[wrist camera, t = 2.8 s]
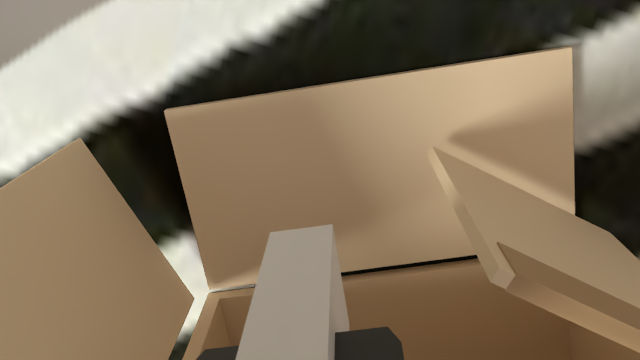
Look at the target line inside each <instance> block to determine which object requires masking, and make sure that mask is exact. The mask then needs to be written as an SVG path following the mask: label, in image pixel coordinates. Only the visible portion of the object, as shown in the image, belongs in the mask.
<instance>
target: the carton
mask: <svg viewBox="0 0 640 360" xmlns="http://www.w3.org/2000/svg"><path fill="white" fill-rule="evenodd" d="M164 114H165V118H166V122H167V126H168V130H169V134H170V138H171V141H172V145H173V149H174V153H175V157H176V161H177V165H178V169H179V173H180V177H181V181H182V185H183V189H184V193H185V197H186V200H187V204H188V208H189V212H190V216H191V220H192V224H193V228H194V232H195V236H196V240H197V244H198V248H199V252H200V256H201V260H202V263H203V267H204V271H205V275H206V279H207V283H208V287H209V290H210V289H218V288H226V287H233V286H241V285H249V284H256V282H257V279H258V275H259V271H260V268H261V264H262V260H263V257H264V253H265V250H266V246H267V242H268V239H269V235H270V232H277V231H285V230H292V229H300V228H308V227H315V226H323V225H330V224H333V229H334V235H335V241H336V247H337V253H338V259H339V265H340V271H341V272H348V271H356V270H363V269H371V268H379V267H386V266H394V265H402V264H409V263H417V262H425V261H432V260H440V259H448V258H455V257H463V256H470V255H476V253H475V251H474V249H473V247H472V245H471V243H470V241H469V239H468V237H467V235H466V233H465V231H464V229H463V227H462V225H461V223H460V221H459V219H458V217H457V215H456V213H455V211H454V209H453V207H452V205H451V203H450V201H449V199H448V197H447V195H446V193H445V191H444V189H443V187H442V185H441V183H440V181H439V179H438V177H437V175H436V173H435V171H434V169H433V167H432V165H431V163H430V161H429V159H428V157H427V155H426V154H427V153H428V151H429V149H430V148H431V146H433V147H435V148H437V149H439V150H441V151H443V152H445V153H447V154H449V155H452V156H454V157H456V158H458V159H460V160H462V161H464V162H466V163H468V164H470V165H472V166H474V167H476V168H478V169H480V170H482V171H484V172H486V173H489V174H491V175H493V176H495V177H497V178H499V179H501V180H503V181H505V182H507V183H509V184H511V185H513V186H515V187H517V188H519V189H521V190H523V191H526V192H528V193H530V194H532V195H534V196H536V197H538V198H540V199H542V200H544V201H546V202H548V203H550V204H552V205H554V206H556V207H558V208H560V209H563V210H565V211H567V212H569V213H571V214H573V215H575V185H574V125H573V65H572V47H569V46H566V47H559V48H553V49H547V50H540V51H534V52H527V53H521V54H515V55H508V56H502V57H495V58H489V59H482V60H476V61H470V62H463V63H457V64H450V65H444V66H438V67H431V68H425V69H418V70H412V71H406V72H399V73H393V74H386V75H380V76H373V77H367V78H361V79H354V80H348V81H341V82H335V83H329V84H322V85H316V86H309V87H303V88H297V89H290V90H284V91H277V92H271V93H264V94H258V95H252V96H245V97H239V98H232V99H226V100H220V101H213V102H207V103H200V104H194V105H188V106H181V107H175V108H168V109H166V110H164ZM341 277H342V283H343V289H344V295H345V301H346V307H347V313H348V319H349V331H353V330H362V329H370V328H379V327H388V328H389V329H390V330H391V331H392V332H393V333H394V334H395V335H396V337H397V338H398V339H399V340H400V341H401V343H402V349H403V356H404V360H640V353H639V352H636V351H634V350H632V349H630V348H628V347H626V346H623V345H621V344H619V343H617V342H615V341H612V340H610V339H608V338H606V337H604V336H602V335H599V334H597V333H595V332H593V331H591V330H588V329H586V328H584V327H582V326H580V325H578V324H575V323H573V322H571V321H569V320H567V319H565V318H562V317H560V316H558V315H556V314H554V313H551V312H549V311H547V310H545V309H543V308H541V307H538V306H536V305H534V304H532V303H530V302H527V301H525V300H523V299H521V298H519V297H517V296H514V295H512V294H510V293H508V292H506V291H504V289H503V288H502V287H500V286H498V285H495V284H493V283H491V282H490V280H489V279H488V277H487V275H486V273H485V271H484V269H483V267H482V265H481V263H480V261H479V259H478V258H477V259H469V260H462V261H454V262H446V263H439V264H431V265H423V266H416V267H408V268H400V269H393V270H385V271H377V272H370V273H362V274H354V275H347V276H341ZM254 290H255V287H254V288H247V289H239V290H231V291H224V292H216V293H209V294H208V296H207V299H206V301H205V304H204V306H203V309H202V311H201V314H200V316H199V319H198V322H197V324H196V327H195V329H194V332H193V334H192V337H191V339H190V342H189V344H188V347H187V349H186V352H185V354H184V357H183V359H182V360H196V359H197V358H198V357H199V355H200V354H201V353H202V352H203V351H204V350H205V349H213V348H222V347H230V346H239V345H240V341H241V337H242V334H243V330H244V326H245V323H246V319H247V315H248V312H249V308H250V304H251V301H252V297H253V293H254ZM193 301H194V297H193V296H192V294H191V293H190V291H189V290H188V289H187V287H186V286H185V284H184V283H183V282H182V280H181V279H180V277H179V276H178V275H177V273H176V272H175V270H174V269H173V268H172V266H171V265H170V263H169V262H168V261H167V259H166V258H165V256H164V255H163V254H162V252H161V251H160V249H159V248H158V246H157V245H156V244H155V242H154V241H153V239H152V238H151V237H150V235H149V234H148V232H147V231H146V230H145V228H144V227H143V225H142V224H141V223H140V221H139V220H138V218H137V217H136V216H135V214H134V213H133V211H132V210H131V209H130V207H129V206H128V204H127V203H126V202H125V200H124V199H123V197H122V196H121V194H120V193H119V192H118V190H117V189H116V187H115V186H114V185H113V183H112V182H111V180H110V179H109V178H108V176H107V175H106V173H105V172H104V171H103V169H102V168H101V166H100V165H99V164H98V162H97V161H96V159H95V158H94V157H93V155H92V154H91V152H90V151H89V149H88V148H87V147H86V145H85V144H84V142H83V141H82V140H81V138H79V139H77V140H75V141H73V142H72V143H70V144H69V145H67V146H65V147H64V148H62V149H61V150H59V151H58V152H56V153H55V154H53V155H51V156H50V157H48V158H47V159H45V160H44V161H42V162H40V163H39V164H37V165H36V166H34V167H33V168H31V169H30V170H28V171H26V172H25V173H23V174H22V175H20V176H19V177H17V178H16V179H14V180H12V181H11V182H9V183H8V184H6V185H5V186H3V187H1V188H0V360H168V358H169V356H170V354H171V352H172V349H173V347H174V345H175V342H176V340H177V338H178V335H179V333H180V331H181V328H182V326H183V324H184V321H185V319H186V317H187V315H188V312H189V310H190V308H191V305H192V303H193Z"/></svg>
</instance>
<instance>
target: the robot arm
mask: <svg viewBox="0 0 640 360" xmlns="http://www.w3.org/2000/svg"><path fill="white" fill-rule="evenodd" d="M196 360H404V356H403V349H402V343H401V341H400V340H399V339H398V338H397V337H396V335H395V334H394V333H393V332H392V331H391V330H390V329H389V328H388V327H379V328H370V329H362V330H353V331H349V319H348V313H347V307H346V301H345V295H344V289H343V283H342V277H341V271H340V265H339V259H338V253H337V247H336V241H335V235H334V229H333V224H330V225H323V226H315V227H308V228H300V229H292V230H285V231H277V232H270V235H269V239H268V242H267V246H266V250H265V253H264V257H263V260H262V264H261V268H260V271H259V275H258V279H257V282H256V286H255V290H254V293H253V297H252V301H251V304H250V308H249V312H248V315H247V319H246V323H245V326H244V330H243V334H242V337H241V341H240V345H239V346H230V347H222V348H213V349H205V350H204V351H203V352H202V353H201V354H200V355H199V357H198V358H197V359H196Z"/></svg>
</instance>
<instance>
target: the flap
mask: <svg viewBox="0 0 640 360" xmlns="http://www.w3.org/2000/svg"><path fill="white" fill-rule="evenodd" d="M426 155H427V157H428V159H429V161H430V163H431V165H432V167H433V169H434V171H435V173H436V175H437V177H438V179H439V181H440V183H441V185H442V187H443V189H444V191H445V193H446V195H447V197H448V199H449V201H450V203H451V205H452V207H453V209H454V211H455V213H456V215H457V217H458V219H459V221H460V223H461V225H462V227H463V229H464V231H465V233H466V235H467V237H468V239H469V241H470V243H471V245H472V247H473V249H474V251H475V253H476V255H477V257H478V259H479V261H480V263H481V265H482V267H483V269H484V271H485V273H486V275H487V277H488V279H489V280H490V282H491V283H493V284H495V285H498V286H500V287H502V288H503V289H504V291H506V292H508V293H510V294H512V295H514V296H517V297H519V298H521V299H523V300H525V301H527V302H530V303H532V304H534V305H536V306H538V307H541V308H543V309H545V310H547V311H549V312H551V313H554V314H556V315H558V316H560V317H562V318H565V319H567V320H569V321H571V322H573V323H575V324H578V325H580V326H582V327H584V328H586V329H588V330H591V331H593V332H595V333H597V334H599V335H602V336H604V337H606V338H608V339H610V340H612V341H615V342H617V343H619V344H621V345H623V346H626V347H628V348H630V349H632V350H634V351H636V352H639V353H640V260H639V259H637V258H636V257H635V256H634V255H633V254H632V253H631V252H630V251H629V250H628V249H627V248H626V247H625V246H624V245H623V244H622V243H620V242H619V241H618V240H617V239H616V238H615V237H614V236H613V235H612V234H611V233H610V232H608V231H606V230H604V229H602V228H600V227H597V226H595V225H593V224H591V223H589V222H587V221H585V220H583V219H581V218H579V217H577V216H575V215H573V214H571V213H569V212H567V211H565V210H563V209H560V208H558V207H556V206H554V205H552V204H550V203H548V202H546V201H544V200H542V199H540V198H538V197H536V196H534V195H532V194H530V193H528V192H526V191H523V190H521V189H519V188H517V187H515V186H513V185H511V184H509V183H507V182H505V181H503V180H501V179H499V178H497V177H495V176H493V175H491V174H489V173H486V172H484V171H482V170H480V169H478V168H476V167H474V166H472V165H470V164H468V163H466V162H464V161H462V160H460V159H458V158H456V157H454V156H452V155H449V154H447V153H445V152H443V151H441V150H439V149H437V148H435V147H433V146H431V148H430V149H429V151H428V153H427V154H426Z"/></svg>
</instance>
